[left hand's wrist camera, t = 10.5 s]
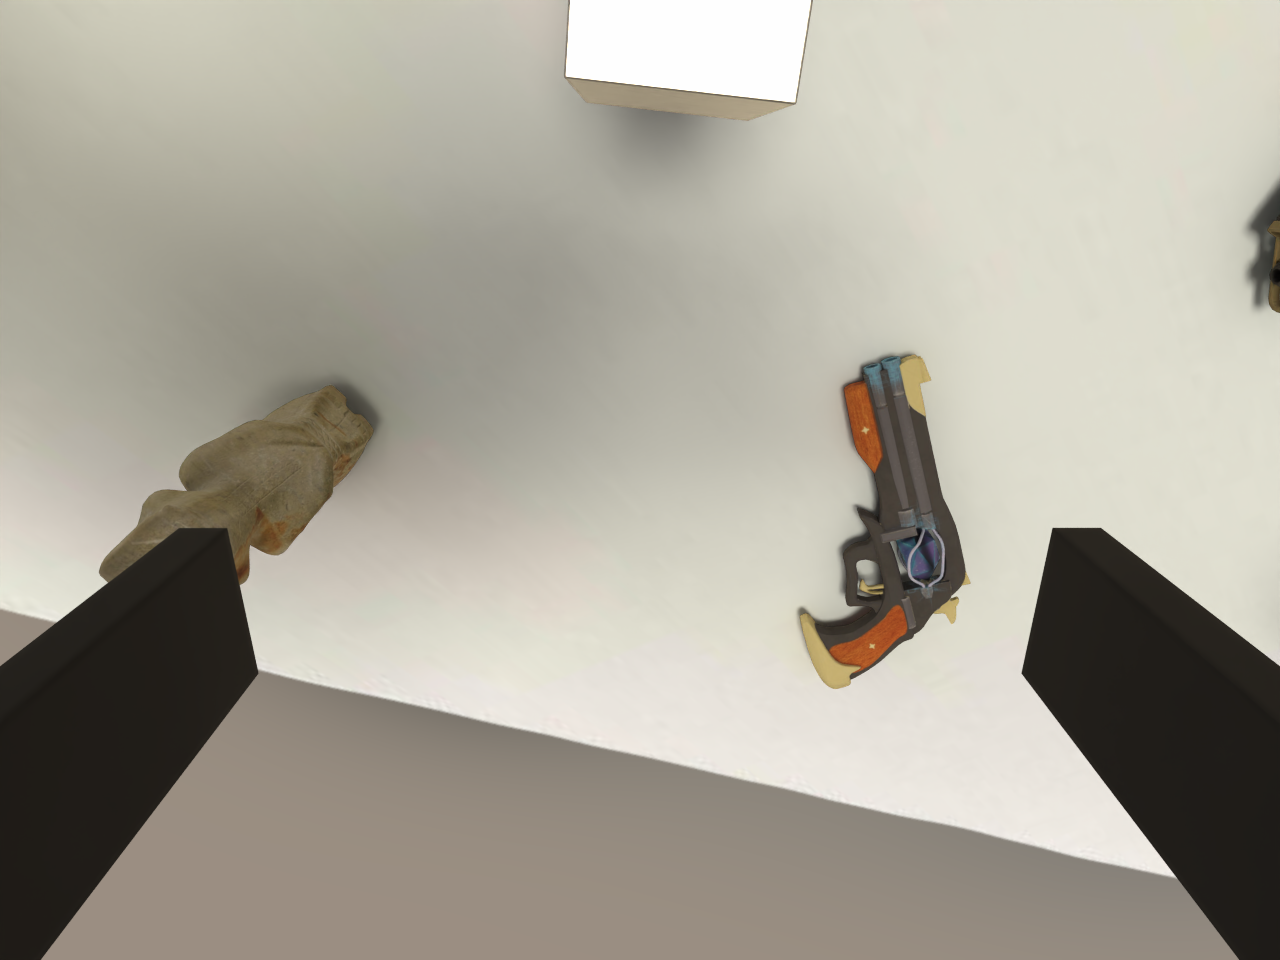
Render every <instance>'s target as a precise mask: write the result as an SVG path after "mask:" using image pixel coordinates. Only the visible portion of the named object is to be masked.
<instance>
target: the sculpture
mask: <svg viewBox="0 0 1280 960" xmlns="http://www.w3.org/2000/svg"><path fill="white" fill-rule="evenodd" d="M346 401H347V399H346V398H345V396H344V395H343V394H342V393H341V392H339V391H338V390H337V389H336V388H335V387H334V386H332V385H329V386H326V387H324V388H323V389H321V390H319V391H318V392H314V393H310V394H307V395H304V396H302V397H299V398H297V399H294V400H292V401H291V402H289V403H287V404H285V405H283V406H282V407H280V408H278V409H276V410H275V411H273V412H272V413H270V414H269V415H268V416H267V417H266V418H264V419H263V420H254V421H250V422H247V423H245V424H243V425H241V426H239V427H237V428H235V429H233V430H231V431H229V432H228V433H226V434H224V435H223V436H221V437H219V438H217V439H215V440H213V441H210V442H208V443H206V444H204V445H202V446H200V447H199V448H197V449H195V450H194V451H193V452H191V453H190V454H189V455H188V457H187V458H186V459H185V460H184V462H183V463H182V465H181V467H180V471H179V478H180V480H181V482H182V484H183V485H184V487H185V488H186V490H187V491H178V490H160V491H157V492H154V493H153V494H152V495H150V496H149V497H148V499H147V500H146V501H145V503H144V504H143V506H142V511H141V515H140V519H139V522H138V525H137V527H136V528H135V529H134V530H133V531H132V532H131V533H130V534H129V535H128V536H126V537H125V538H124V539H123V540H122V541H121V542H120V543H119V544H118V545H117V546H116V547H115V548H114V549H113V550H112V551H111V552H110V553H109V554H108V555H107V556H106V557H105V559H104V560H103V562H102V564H101V566H100V570H99V574H100V576H101V577H103V578H104V579H105V580H106V581H107V582H108V583H109V582H110V581H111V580H113V579H114V578H115V577H116V576H118V575H119V574H120V573H122V572H123V571H124V570H125V569H127V568H128V567H129V566H131V565H132V564H133V563H134V562H136V561H137V560H138V559H140V558H141V557H142V556H144V555H145V554H146V553H147V552H149V551H150V550H151V549H153V548H154V547H155V546H156V545H158V544H159V543H160V542H162V541H163V540H164V539H166V538H167V537H168V536H169V535H171V534H172V533H173V532H175V531H176V530H177V529H178V528H227V529H228V533H229V538H230V543H231V547H232V552H233V557H234V561H235V566H236V571H237V576H238V580H239V585H241V584H243V583H244V582H245V581H246V580H247V578H248V576H249V570H250V566H249V549H250V545H251V546H253V547H255V548H257V549H258V550H260V551H262V552H264V553H267V554H270V555H280V554H282V553H283V552H285V551H286V550H287V549H288V547H289V546H290V545H291V543H292V542H293V541H294V540H295V538H296V537H297V536H298V535H299V534H300V533H301V532H302V531H303V530H304V528H305V527H306V525H307V524H308V523H309V521H310V520H311V519H312V518H313V516H314V515H315V514H316V513H317V512H318V511H319V510H320V509H321V507H322V506H323V505H324V503H325V502H326V501H327V500H328V499H329V498H330V497H331V495H332V493H333V487H335V486H336V485H337V484H338V483H339V482H340V481H341V480H342V479H343V478H344V477H345V476H346V475H347V474H348V473H349V471H350V470H351V469H352V468H353V466H354V465H355V463H356V462H357V460H358V459H359V457H360V456H361V454H362V452H363V450H364V448H365V446H366V444H367V442H368V441H369V439H370V438H371V436H372V434H373V428H372V427H371V425H370V424H369V423H368V421H367V420H366V419H365V418H364V417H363V416H362V415H360V414H353V413H352V412H351V411H350V410H349V409H348V408H347V407H346Z"/></svg>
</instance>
